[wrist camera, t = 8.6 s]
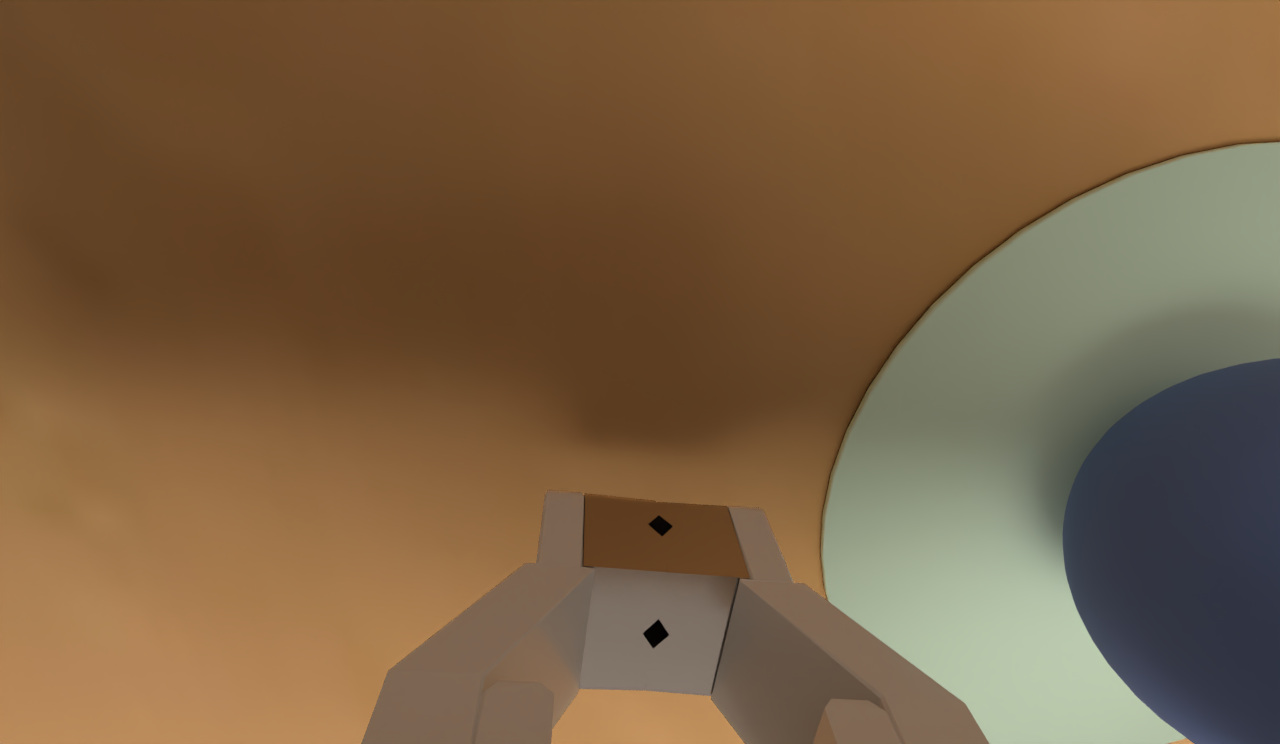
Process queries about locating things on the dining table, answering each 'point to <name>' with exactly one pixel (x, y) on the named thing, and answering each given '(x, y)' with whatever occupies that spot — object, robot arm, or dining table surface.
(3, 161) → the dining table surface
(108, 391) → the dining table surface
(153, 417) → the dining table surface
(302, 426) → the dining table surface
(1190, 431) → the ball
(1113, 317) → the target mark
